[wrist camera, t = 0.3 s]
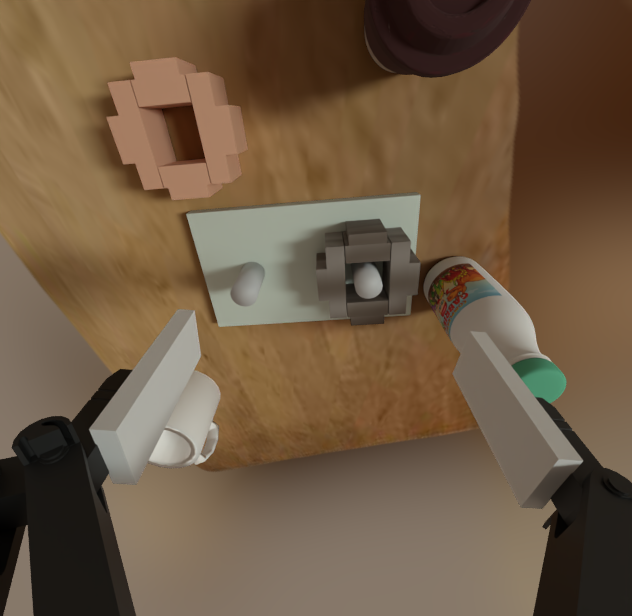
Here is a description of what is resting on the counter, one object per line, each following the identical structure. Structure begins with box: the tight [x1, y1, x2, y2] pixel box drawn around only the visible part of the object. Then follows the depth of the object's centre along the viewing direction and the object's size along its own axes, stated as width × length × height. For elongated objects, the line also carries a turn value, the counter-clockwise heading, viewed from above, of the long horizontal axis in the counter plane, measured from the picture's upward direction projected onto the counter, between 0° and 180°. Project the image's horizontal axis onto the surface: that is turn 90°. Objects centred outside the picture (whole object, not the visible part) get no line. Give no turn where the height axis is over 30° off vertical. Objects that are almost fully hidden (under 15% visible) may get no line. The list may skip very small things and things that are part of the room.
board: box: [186, 192, 421, 327], centre depth 38 cm, size 16×27×8 cm, turn 95°
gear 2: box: [316, 219, 421, 325], centre depth 38 cm, size 11×11×5 cm
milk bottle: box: [423, 257, 566, 403], centre depth 34 cm, size 8×8×20 cm
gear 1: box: [106, 57, 248, 200], centre depth 32 cm, size 11×11×5 cm
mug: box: [147, 371, 220, 468], centre depth 50 cm, size 14×10×11 cm
